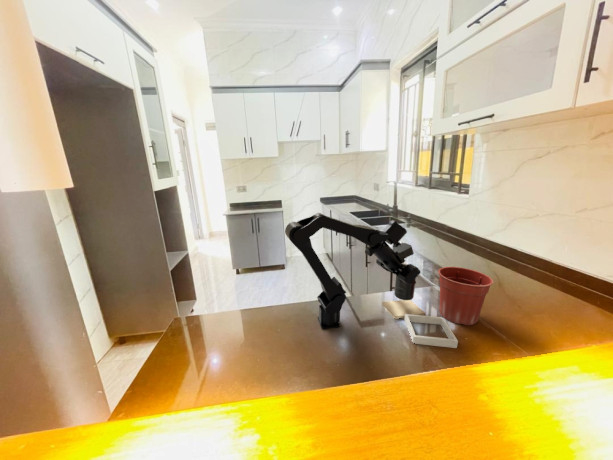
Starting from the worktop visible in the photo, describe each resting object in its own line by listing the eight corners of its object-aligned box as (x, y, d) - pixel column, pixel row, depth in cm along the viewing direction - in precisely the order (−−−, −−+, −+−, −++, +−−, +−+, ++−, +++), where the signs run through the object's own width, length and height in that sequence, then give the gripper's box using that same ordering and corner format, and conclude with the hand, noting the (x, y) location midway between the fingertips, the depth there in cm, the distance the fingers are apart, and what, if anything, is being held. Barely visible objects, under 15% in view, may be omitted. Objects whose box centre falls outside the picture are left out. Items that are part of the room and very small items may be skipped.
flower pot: (476, 308, 97) (483, 269, 94) (492, 333, 82) (501, 289, 78) (429, 301, 102) (434, 264, 98) (437, 324, 87) (443, 281, 83)
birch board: (394, 319, 90) (395, 316, 90) (381, 304, 100) (382, 302, 99) (425, 316, 92) (425, 313, 92) (409, 302, 102) (409, 299, 101)
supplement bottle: (417, 299, 92) (421, 269, 89) (401, 301, 90) (404, 270, 88) (406, 291, 98) (409, 262, 96) (390, 293, 97) (393, 263, 94)
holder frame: (412, 343, 78) (413, 336, 77) (404, 319, 90) (404, 313, 89) (456, 348, 76) (458, 341, 75) (442, 323, 88) (443, 317, 87)
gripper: (418, 244, 79) (442, 273, 85) (385, 230, 97) (407, 255, 102) (394, 270, 79) (420, 297, 84) (365, 251, 96) (388, 275, 102)
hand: (408, 279), depth 93 cm, fingers closed on supplement bottle, 7 cm apart
